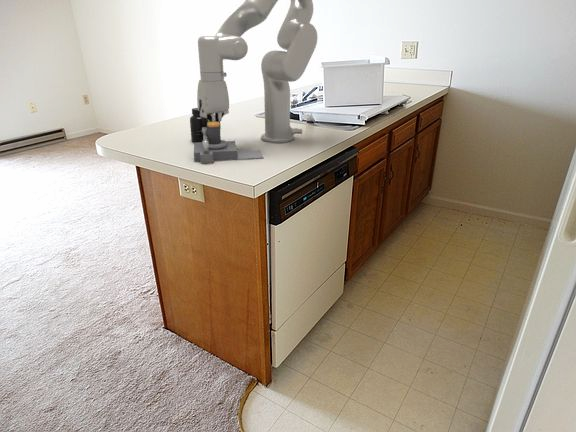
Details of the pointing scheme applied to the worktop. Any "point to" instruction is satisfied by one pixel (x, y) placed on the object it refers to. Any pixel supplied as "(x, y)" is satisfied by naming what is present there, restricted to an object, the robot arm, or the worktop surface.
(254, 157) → the mat
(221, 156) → the grey flat block
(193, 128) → the supplement bottle
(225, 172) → the worktop surface
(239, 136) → the worktop surface
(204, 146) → the clip
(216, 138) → the plug
